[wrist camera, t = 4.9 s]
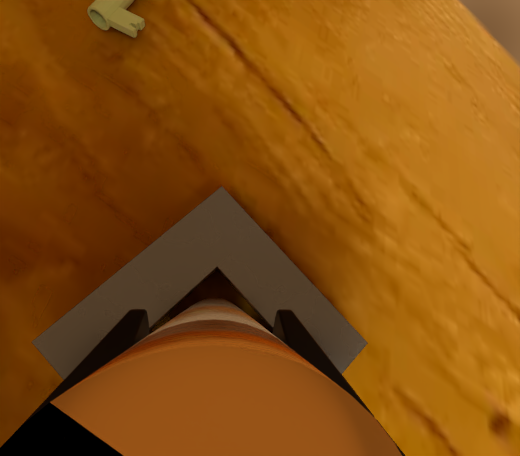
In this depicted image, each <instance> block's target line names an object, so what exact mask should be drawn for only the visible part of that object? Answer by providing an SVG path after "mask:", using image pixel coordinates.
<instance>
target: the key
mask: <svg viewBox="0 0 520 456" xmlns="http://www.w3.org/2000/svg"><path fill="white" fill-rule="evenodd" d="M133 1H134V0H95V1H94V2H93V3H92V4H91V5H90V6H89V7H88V10H87V11H88V15H89V17H90V19H91V20H92V21H93V23H94V24H95V25H97V26H98V27H99V28H101V29H103V30H108V29H109V28H110V27H113V28H115V29H117V30H119V31H121V32H123V33H125V34H127V35H129V36H131V37H133V38H135V37H136V36H137V31H138V29H139V30H142V29H143V28H144V27H145V23H144V19H143V18H141V17H139V16H137V15H135V14H133V13H131V12H129V11H127V10H126V9H127V8H128V7H129V6H130V5H131V3H132V2H133Z"/></svg>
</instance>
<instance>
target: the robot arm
mask: <svg viewBox="0 0 520 456" xmlns="http://www.w3.org/2000/svg"><path fill="white" fill-rule="evenodd" d="M148 335H149V322H148V315H147V311H146V310H145V309H131V310H129V311H128V312H127V313H126V314H125V315H124V317H123V318H122V319H121V320H120V321H119V322H118V323H117V324H116V325H115V326H114V327H113V328H112V329H111V330H110V331H109V333H108V334H107V335H106V336H105V337H104V338H103V339H102V340H101V341H100V342H99V343H98V344H97V345H96V346H95V347H94V349H93V350H92V351H91V352H90V353H89V354H88V355H87V356H86V357H85V358H84V359H83V360H82V361H81V362H80V364H79V365H78V366H77V367H76V368H75V369H74V370H73V371H72V372H71V373H70V374H69V375H68V376H67V377H66V378H65V380H64V381H63V382H62V383H61V384H60V385H59V386H58V387H57V388H56V389H55V390H54V391H53V392H52V393H51V394H50V396H49V397H48V398H47V399H46V400H45V401H44V402H43V403H42V404H41V405H40V406H39V407H38V408H37V409H36V410H35V412H34V413H33V414H32V415H31V416H30V417H29V418H28V419H27V420H26V421H28V420H29V419H30V418H31V417H32V416H34V415H35V414H36V413H37V412H39V411H40V410H41V409H42V408H43V407H45V406H46V405H47V404H48V403H50V402H51V401H53V400H54V399H55V398H57V397H58V396H60V395H61V394H63V393H64V392H66V391H67V390H69V389H70V388H72V387H73V386H75V385H76V384H77V383H79V382H80V381H82V380H83V379H85V378H86V377H88V376H89V375H91V374H92V373H94V372H95V371H97V370H98V369H99V368H101V367H102V366H104V365H105V364H107V363H108V362H110V361H111V360H113V359H114V358H116V357H117V356H119V355H120V354H122V353H123V352H124V351H126V350H127V349H129V348H130V347H132V346H133V345H135V344H136V343H138V342H139V341H141V340H142V339H144V338H145V337H146V336H148ZM273 335H275V336H276V337H277V338H278V339H280V340H281V341H282V342H283V343H285V344H286V345H287V346H289V347H290V348H291V349H292V350H294V351H295V352H296V353H298V354H299V355H300V356H301V357H303V358H304V359H305V360H307V361H308V362H309V363H310V364H312V365H313V366H314V367H316V368H317V369H318V370H319V371H321V372H322V373H323V374H324V375H326V376H327V377H328V378H330V379H331V380H332V381H333V382H335V383H336V384H337V385H339V386H340V387H341V388H342V389H344V390H345V391H346V392H348V393H349V394H350V395H351V396H352V397H354V398H355V399H356V400H357V401H358V402H359V403H360V404H361V405H362V406H363V407H364V408H365V409H366V410H367V411H368V412H369V413H370V414H371V415H372V416H373V414H372V413H371V412H370V410H369V409H368V408H367V407H366V405H365V404H364V403H363V401H362V400H361V399H360V397H359V396H358V395H357V394H356V392H355V391H354V390H353V388H352V387H351V386H350V385H349V383H348V382H347V381H346V379H345V378H344V377H343V376H342V374H341V373H340V372H339V370H338V369H337V368H336V367H335V365H334V364H333V363H332V361H331V360H330V359H329V358H328V356H327V355H326V354H325V352H324V351H323V350H322V349H321V347H320V346H319V345H318V343H317V342H316V341H315V340H314V338H313V337H312V336H311V334H310V333H309V332H308V331H307V329H306V328H305V327H304V325H303V324H302V323H301V321H300V320H299V319H298V318H297V316H296V315H295V314H294V312H293V311H292V310H290V309H279V310H277V312H276V316H275V321H274V326H273ZM373 417H374V416H373ZM26 421H25V422H26ZM25 422H24V423H25ZM377 422H378V421H377ZM24 423H23V424H24ZM378 423H379V422H378ZM23 424H22V425H23ZM379 424H380V423H379ZM22 425H21V426H22ZM380 425H381V424H380ZM381 427H382V426H381ZM382 428H383V427H382ZM383 429H384V428H383ZM385 432H386V431H385ZM386 433H387V432H386ZM387 434H388V433H387ZM389 437H390V436H389ZM390 438H391V437H390ZM391 439H392V438H391ZM393 442H394V441H393ZM394 443H395V442H394ZM3 445H4V444H3ZM3 445H2V446H3ZM395 445H396V443H395ZM396 446H397V445H396ZM397 448H398V450H399V451H400V453H401V454H402V456H405V454H404V453H403V452H402V451H401V450H400V448H399V447H398V446H397Z"/></svg>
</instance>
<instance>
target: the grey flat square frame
mask: <svg viewBox="0 0 520 456" xmlns="http://www.w3.org/2000/svg"><path fill="white" fill-rule="evenodd" d="M216 270H218V271H219V272H220V273H221V274H222V275H223V276H224V278H225V279H226V280H227V281H228V282H229V283H230V284H231V285H232V286H233V287H234V288H235V290H236V291H237V292H238V293H239V294H240V295H241V296H242V297H243V298H244V299H245V301H246V302H247V303H248V304H249V305H250V306H251V307H252V308H253V309H254V310H255V312H256V313H257V314H258V315H259V316H260V317H261V318H262V319H263V320H264V321H265V323H266V324H267V325H268V326H269V327H270V328H271V329H272V330H273V326H274V321H275V316H276V312H277V310H279V309H290V310H292V311H293V312H294V314H295V315H296V316H297V318H298V319H299V320H300V321H301V323H302V324H303V325H304V327H305V328H306V329H307V331H308V332H309V333H310V334H311V336H312V337H313V338H314V340H315V341H316V342H317V343H318V345H319V346H320V347H321V349H322V350H323V351H324V352H325V354H326V355H327V356H328V358H329V359H330V360H331V361H332V363H333V364H334V365H335V367H336V368H337V369H338V370H339V372H340V373H341V374H342V373H343V372H344V371H345V369H346V368H347V367H348V366H349V365H350V363H351V362H352V361H353V360H354V359H355V357H356V356H357V355H358V354H359V353H360V352H361V350H362V349H363V348H364V347H365V346H366V344H367V342H366V341H365V340H364V339H363V337H362V336H361V335H360V334H359V333H358V332H357V331H356V330H355V329H354V328H353V327H352V326H351V325H350V323H349V322H348V321H347V320H346V319H345V318H344V317H343V316H342V315H341V314H340V313H339V312H338V311H337V310H336V308H335V307H334V306H333V305H332V304H331V303H330V302H329V301H328V300H327V299H326V298H325V297H324V296H323V294H322V293H321V292H320V291H319V290H318V289H317V288H316V287H315V286H314V285H313V284H312V283H311V282H310V280H309V279H308V278H307V277H306V276H305V275H304V274H303V273H302V272H301V271H300V270H299V269H298V268H297V267H296V265H295V264H294V263H293V262H292V261H291V260H290V259H289V258H288V257H287V256H286V255H285V254H284V253H283V251H282V250H281V249H280V248H279V247H278V246H277V245H276V244H275V243H274V242H273V241H272V240H271V239H270V237H269V236H268V235H267V234H266V233H265V232H264V231H263V230H262V229H261V228H260V227H259V226H258V225H257V223H256V222H255V221H254V220H253V219H252V218H251V217H250V216H249V215H248V214H247V213H246V212H245V211H244V210H243V208H242V207H241V206H240V205H239V204H238V203H237V202H236V201H235V200H234V199H233V198H232V197H231V196H230V194H229V193H228V192H227V191H226V190H225V189H224V188H223V187H222V186H221V187H220V188H219V189H218V190H217V191H215V192H214V193H213V194H212V195H210V196H209V197H208V198H207V199H206V200H204V201H203V202H202V203H201V204H199V205H198V206H197V207H196V208H195V209H193V210H192V211H191V212H190V213H188V214H187V215H186V216H185V217H184V218H182V219H181V220H180V221H179V222H177V223H176V224H175V225H174V226H173V227H171V228H170V229H169V230H168V231H166V232H165V233H164V234H163V235H162V236H160V237H159V238H158V239H157V240H156V241H154V242H153V243H152V244H151V245H149V246H148V247H147V248H146V249H145V250H143V251H142V252H141V253H140V254H138V255H137V256H136V257H135V258H134V259H132V260H131V261H130V262H129V263H127V264H126V265H125V266H124V267H123V268H121V269H120V270H119V271H118V272H116V273H115V274H114V275H113V276H112V277H110V278H109V279H108V280H107V281H105V282H104V283H103V284H102V285H101V286H99V287H98V288H97V289H96V290H94V291H93V292H92V293H91V294H90V295H88V296H87V297H86V298H85V299H83V300H82V301H81V302H80V303H79V304H77V305H76V306H75V307H74V308H72V309H71V310H70V311H69V312H68V313H66V314H65V315H64V316H63V317H62V318H60V319H59V320H58V321H57V322H55V323H54V324H53V325H52V326H51V327H49V328H48V329H47V330H46V331H44V332H43V333H42V334H41V335H40V336H38V337H37V338H36V339H35V340H33V341H32V343H33V344H34V345H35V347H36V348H37V349H38V350H39V351H40V353H41V354H42V355H43V356H44V357H45V358H46V360H47V361H48V362H49V363H50V364H51V365H52V367H53V368H54V369H55V370H56V371H57V372H58V374H59V375H60V376H61V377H62V378H63V380H65V378H66V377H67V376H68V375H69V374H70V373H71V372H72V371H73V370H74V369H75V368H76V367H77V366H78V365H79V364H80V362H81V361H82V360H83V359H84V358H85V357H86V356H87V355H88V354H89V353H90V352H91V351H92V350H93V349H94V347H95V346H96V345H97V344H98V343H99V342H100V341H101V340H102V339H103V338H104V337H105V336H106V335H107V334H108V333H109V331H110V330H111V329H112V328H113V327H114V326H115V325H116V324H117V323H118V322H119V321H120V320H121V319H122V318H123V317H124V315H125V314H126V313H127V312H128V311H129V310H131V309H145V310H146V311H147V315H148V322H149V331H150V330H151V329H152V328H153V327H154V326H155V325H156V324H157V323H158V322H159V321H161V320H162V319H163V318H164V317H165V316H166V315H167V314H168V313H169V312H170V311H172V310H173V309H174V308H175V307H176V306H177V305H178V304H179V303H180V302H181V301H183V300H184V299H185V298H186V297H187V296H188V295H189V294H190V293H191V292H192V291H194V290H195V289H196V288H197V287H198V286H199V285H200V284H201V283H202V282H203V281H205V280H206V279H207V278H208V277H209V276H210V275H211V274H212V273H213V272H214V271H216Z"/></svg>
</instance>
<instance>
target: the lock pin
mask: <svg viewBox="0 0 520 456" xmlns="http://www.w3.org/2000/svg"><path fill="white" fill-rule="evenodd" d="M0 456H402V454H401V453H400V451H399V450H398V448H397V446H396V445H395V443H394V442H393V440H392V439H391V438H390V437H389V435H388V434H387V433H386V432H385V430H384V429H383V428H382V427H381V425H380V424H379V423H378V422H377V420H376V419H375V418H374V417H373V416H372V415H371V414H370V413H369V412H368V411H367V410H366V409H365V408H364V407H363V406H362V405H361V404H360V403H359V402H358V401H357V400H356V399H355V398H354V397H352V396H351V395H350V394H349V393H348V392H346V391H345V390H344V389H342V388H341V387H340V386H339V385H337V384H336V383H335V382H333V381H332V380H331V379H330V378H328V377H327V376H326V375H324V374H323V373H322V372H321V371H319V370H318V369H317V368H316V367H314V366H313V365H312V364H310V363H309V362H308V361H307V360H305V359H304V358H303V357H301V356H300V355H299V354H298V353H296V352H295V351H294V350H292V349H291V348H290V347H289V346H287V345H286V344H285V343H283V342H282V341H281V340H280V339H278V338H277V337H276V336H275V335H273V334H272V333H271V332H269V331H268V330H267V329H266V328H264V327H263V326H262V325H260V324H259V323H258V322H257V321H255V320H254V319H253V318H251V317H250V316H249V315H248V314H246V313H245V312H244V311H242V310H241V309H240V308H239V307H237V306H236V305H235V304H233V303H232V302H230V301H228V300H225V299H221V298H208V299H204V300H201V301H199V302H197V303H195V304H194V305H192V306H191V307H189V308H188V309H186V310H185V311H183V312H182V313H180V314H179V315H177V316H176V317H174V318H173V319H171V320H170V321H169V322H167V323H166V324H164V325H163V326H161V327H160V328H158V329H157V330H155V331H154V332H152V333H151V334H149V335H148V336H146V337H145V338H144V339H142V340H141V341H139V342H138V343H136V344H135V345H133V346H132V347H130V348H129V349H127V350H126V351H124V352H123V353H122V354H120V355H119V356H117V357H116V358H114V359H113V360H111V361H110V362H108V363H107V364H105V365H104V366H102V367H101V368H99V369H98V370H97V371H95V372H94V373H92V374H91V375H89V376H88V377H86V378H85V379H83V380H82V381H80V382H79V383H77V384H76V385H75V386H73V387H72V388H70V389H69V390H67V391H66V392H64V393H63V394H61V395H60V396H58V397H57V398H55V399H54V400H53V401H51V402H50V403H48V404H47V405H46V406H45V407H43V408H42V409H41V410H40V411H39V412H37V413H36V414H35V415H34V416H32V417H31V418H30V419H29V420H28V421H26V422H25V423H24V424H23V425H22V426H21V427H20V428H19V429H18V430H17V431H16V432H15V433H14V434H13V435H12V436H11V437H10V438H9V439H8V440H7V441H6V442H5V443H4V445H3V446H2V447H1V448H0Z"/></svg>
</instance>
